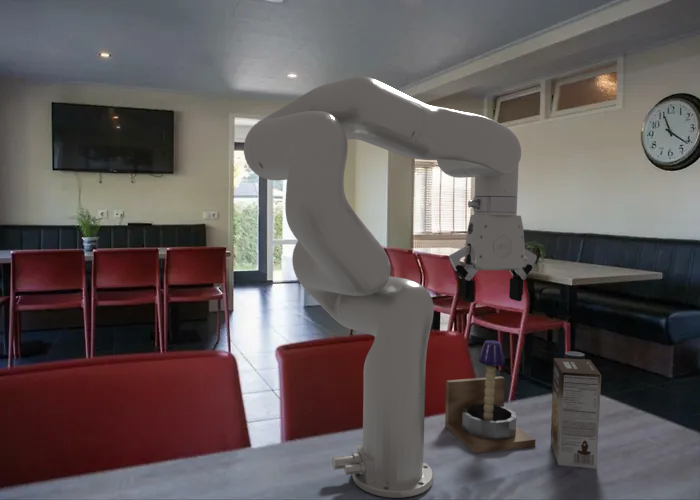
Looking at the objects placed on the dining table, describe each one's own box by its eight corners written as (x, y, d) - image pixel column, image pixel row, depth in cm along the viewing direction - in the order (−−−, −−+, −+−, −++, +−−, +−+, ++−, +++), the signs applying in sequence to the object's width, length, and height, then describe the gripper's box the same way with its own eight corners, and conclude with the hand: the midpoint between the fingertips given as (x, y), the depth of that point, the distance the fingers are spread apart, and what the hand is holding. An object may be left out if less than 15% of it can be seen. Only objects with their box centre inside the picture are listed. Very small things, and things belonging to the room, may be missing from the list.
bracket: (474, 453, 95) (476, 401, 95) (445, 426, 107) (446, 380, 106) (535, 446, 98) (537, 396, 98) (500, 421, 110) (501, 376, 109)
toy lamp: (482, 422, 106) (485, 337, 105) (505, 428, 103) (508, 341, 102) (472, 430, 102) (475, 342, 101) (496, 436, 99) (499, 345, 98)
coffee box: (548, 443, 100) (552, 356, 99) (586, 446, 99) (590, 358, 97) (557, 466, 91) (561, 371, 90) (598, 470, 90) (603, 373, 88)
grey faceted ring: (477, 442, 97) (478, 424, 96) (453, 422, 106) (454, 405, 106) (525, 437, 99) (526, 419, 99) (498, 418, 108) (498, 401, 108)
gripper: (461, 206, 94) (458, 305, 95) (549, 208, 98) (545, 302, 99) (442, 206, 101) (440, 298, 102) (525, 208, 105) (521, 296, 107)
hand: (492, 300), depth 101 cm, fingers open, 9 cm apart
